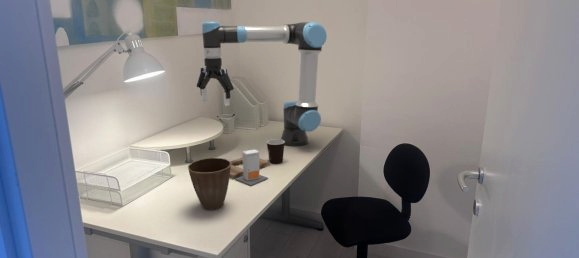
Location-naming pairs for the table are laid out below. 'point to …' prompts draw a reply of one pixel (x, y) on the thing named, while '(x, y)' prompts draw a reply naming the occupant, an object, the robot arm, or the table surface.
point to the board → (238, 172)
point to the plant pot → (210, 181)
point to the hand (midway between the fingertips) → (215, 104)
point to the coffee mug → (275, 150)
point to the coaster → (251, 182)
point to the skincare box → (251, 164)
